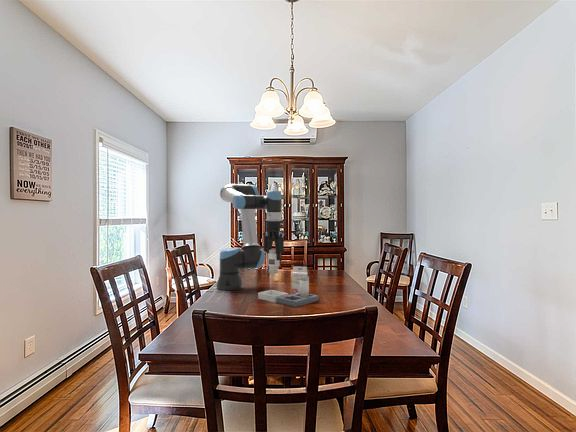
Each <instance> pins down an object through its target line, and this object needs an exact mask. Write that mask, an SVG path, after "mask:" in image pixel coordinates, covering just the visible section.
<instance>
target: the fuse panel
mask: <svg viewBox="0 0 576 432" xmlns="http://www.w3.org/2000/svg"><path fill="white" fill-rule="evenodd" d="M319 300H320V297H319V295H317V294H312V293H309V297H301V296H300V292H299V293H295V294H292V293H291V294H288V295H287V296H286V295H285V296H282V297H278V298H277V302H276V303H277V304H281V303H282V305H285V304H286V305H285V306H289V307H294V308H297V307H301V306H304V305H307V304H312V303H315V302H319Z"/></svg>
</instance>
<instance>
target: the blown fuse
mask: <svg viewBox="0 0 576 432" xmlns="http://www.w3.org/2000/svg"><path fill="white" fill-rule="evenodd" d="M275 253H276V249H274V248H273V249H270V250H269V266H268V274H278V273H279V266H278V267H275Z"/></svg>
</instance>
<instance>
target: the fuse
mask: <svg viewBox="0 0 576 432" xmlns="http://www.w3.org/2000/svg"><path fill="white" fill-rule="evenodd" d="M309 291H310V276H300V296H301V297H309V294H310V292H309Z"/></svg>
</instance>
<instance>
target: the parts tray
mask: <svg viewBox="0 0 576 432" xmlns="http://www.w3.org/2000/svg"><path fill="white" fill-rule="evenodd" d="M285 295H286V296H287V295H289V293H288V292H284V291H279V290H273V289H269V290H264V291H260V292H257V299H258V300H262V301H265V300H266V302H269V303H277V298H278V297H282V296H285Z"/></svg>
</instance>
